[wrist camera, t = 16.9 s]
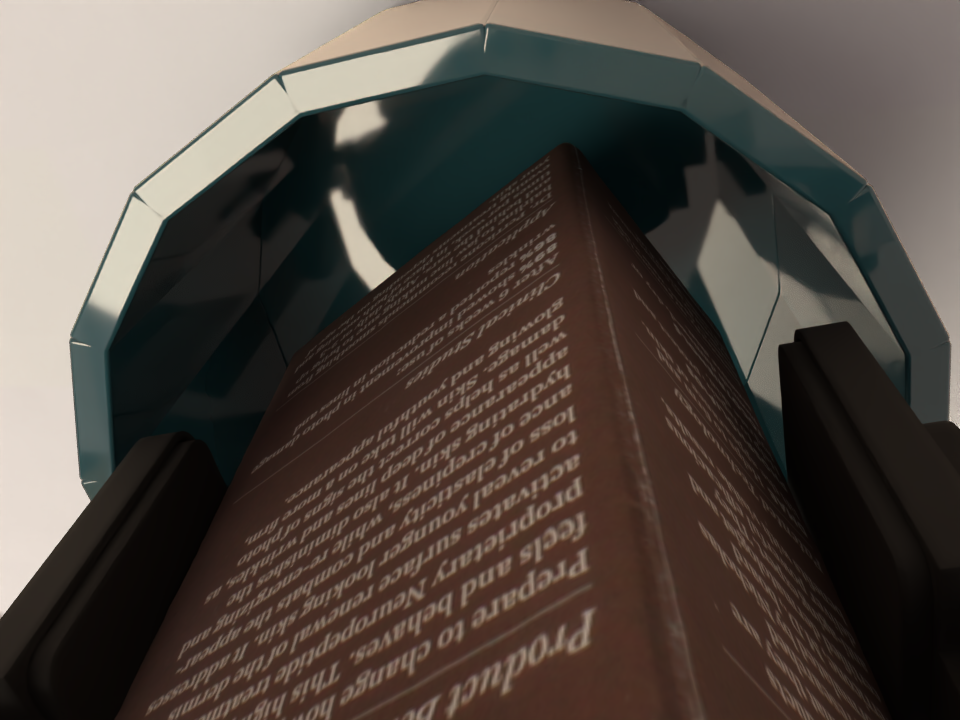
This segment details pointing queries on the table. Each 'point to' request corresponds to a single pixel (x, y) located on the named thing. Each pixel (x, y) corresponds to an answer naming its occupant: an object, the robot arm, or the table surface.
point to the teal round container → (460, 190)
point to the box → (511, 505)
